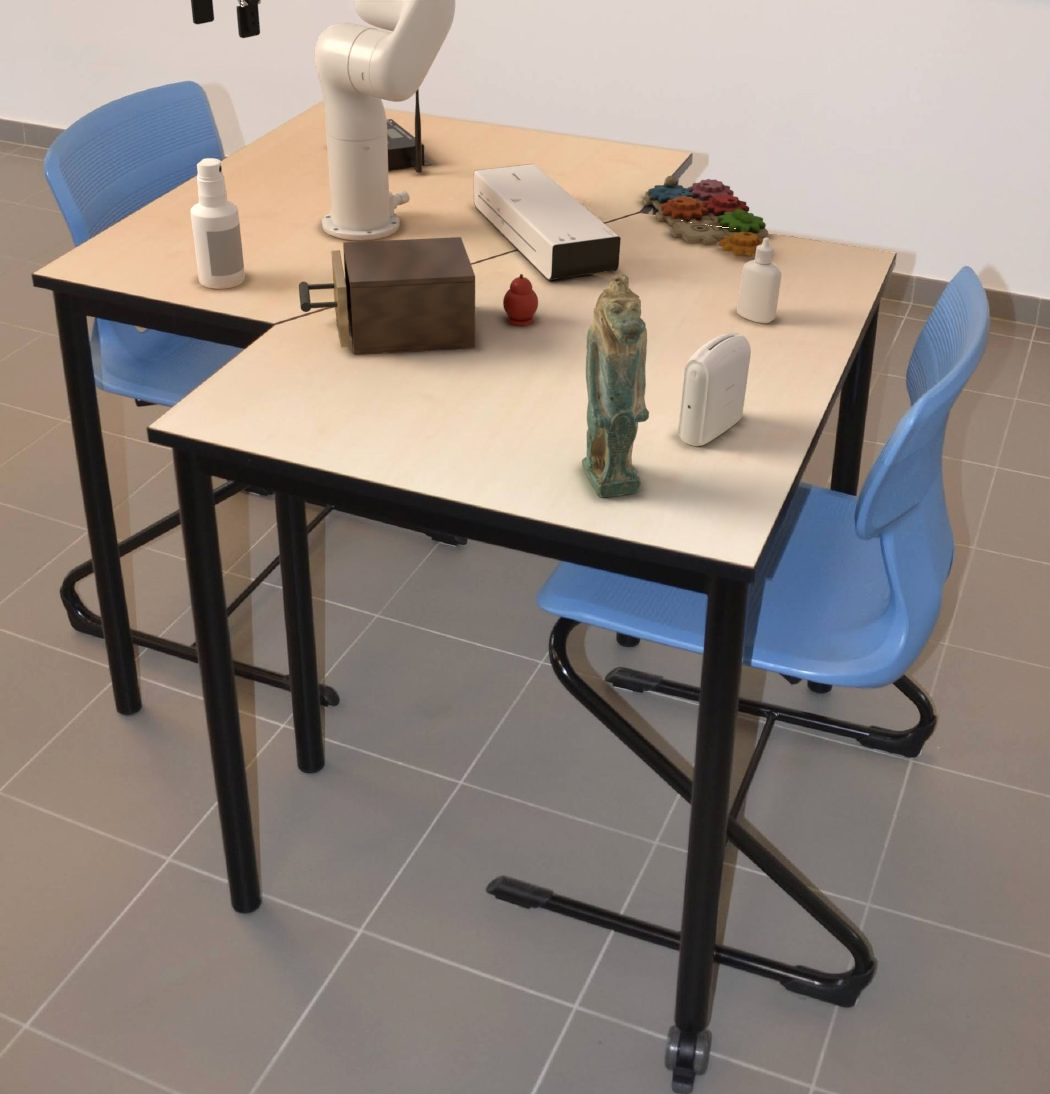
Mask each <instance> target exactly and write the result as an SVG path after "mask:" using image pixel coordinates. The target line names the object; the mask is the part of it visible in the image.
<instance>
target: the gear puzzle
mask: <svg viewBox="0 0 1050 1094" xmlns="http://www.w3.org/2000/svg"><path fill="white" fill-rule="evenodd" d="M642 202H643V204H644V205H645V206H653V207H654V208H655V209H656V210H658V211H657V212H655V218H656V219H657V220H658V221H659V222H663V221H666V222H667V223H668V224H669V225H670V226H672V228H671V229H670V234H671V235H672V236H673V237H674V238H679V237H680V238H682V239H683V241H685V243H703V245H716V244H717V242H718V246H719V247H721V248H722V251H723V252H730V253H731V252H732V254H733V255H734V256H740V255H745V256H748V257H753V256H755V254H756V247H757V246H758V245H761V244H762V242H763V239H764V238H767V237H768V235H769V231H768V230H767V228H766V227H767V223H766V222H765V221H764V217H762V216H759V215H755V214H754V213H752V212H750V206H748V205H747V201H743V200H740V199H739V196H734V190H732V189H731V186H730V185H726V184H724V183H723V181H721V180H717V179H711V178H707V179H701V180H700V181H698V182H693V183H692V185H691V186H689V187H684V186H683V185H682V184H677V179H676V177H675V176H673V175H667V176H666V177H665V179H664V185H663V184H655V185H654V187H652V188H649V189H647V191H646V192H645V193H644V196H643V197H642ZM681 220H683V221H681ZM690 222H692V223H690ZM705 224H707V225H705ZM708 225H709V226H708ZM710 225H712V226H710ZM716 226H722V227H729V228H722V227H716ZM734 228H736V229H734Z"/></svg>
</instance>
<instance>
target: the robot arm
mask: <svg viewBox="0 0 1050 1094" xmlns="http://www.w3.org/2000/svg"><path fill="white" fill-rule="evenodd" d="M237 3H238V4H239V5H237V6H236V16H237V17H236V19H237V20H236V21H237V30H238V36H239V38H241V39H247V38H251V37H257V36H260V34H261V25H260V24H261V23H260V13H259V12H260V11H259V5H260V4H261V3H262V0H237ZM353 4H354V9H355V12H356V14H357V15H358V17H359V18H360V19H361V21H363V22H364V23H366V24H368V25H370V26H372V27H370V26H366V25H362V24H359V23H351V22H338V23H333V24H331V25H329V26H328V27H326V28H325V29H324V30H323V31H322V32H321V33H320V35H319V36H318V38H317V39H316V43H315V48H314V64H315V69H316V73H317V78H318V82H319V85H320V89H321V94H322V100H323V109H324V119H325V120H324V121H325V136H326V138H325V139H326V153H327V168H328V169H327V170H328V186H329V187H328V188H329V199H330V200H329V202H330V203H329V204H330V211H329V212H328V213H326V214H325V215H324V216H323V217H322V219H321V227H322V230H323V231H324V232H325V233H326V234H328V235H329V236H332V237H335V238H337V239H341V240H347V241H374V240H378V239H384V238H387V237H389V236H391V235H393V234H395V233H396V232H398V230H399V228H400V226H401V222H400V216H398V215H397V214H396V213H395V210H396V209H397V208H398V206H402V205H404V204H407V203H409V202H410V194H409V193H408V192H407V191H405V190H403V191H399V192H397V193H395V194H393V193H392V191H391V190H390V182H389V179H390V177H389V171H388V149H387V114H386V109H385V106H384V103H383V100H384V101H387V102H394V103H397V102H398V103H399V102H401V103H402V102H405V101H407V100H409V99H410V98H411V97H413V96H414V95H416V91H417V90H418V88H419V89H420V87H421V86H422V84H423V82H424V80H425V78H426V76H427V75H428V74H429V71H430V69H431V67H432V65H433V64H434V61H435V59H436V58H437V56H438V54H439V52H440V50H441V48H442V46H443V44H444V42H445V40H446V39H447V37H448V34H449V32H450V30H451V28H452V25H453V23H454V20H455V19H454V18H455V13H456V0H354V3H353ZM190 5H191V15H192V22H193V24H194V25H196V26H197V25H202V24H208V23H212V22H214V21H215V11H214V1H213V0H190Z"/></svg>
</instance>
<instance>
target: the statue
mask: <svg viewBox="0 0 1050 1094" xmlns="http://www.w3.org/2000/svg"><path fill="white" fill-rule="evenodd" d="M629 282H630V277H629V276H628V275H626V274H619V275H617V276H614V277H612V278H611V279H610V280H609V284H608V287H606V288H605V289H603V290H602V292H601V293H600V294H599V295H598V298H597V300H596V303H595V307H594V308H593V309H594V310H593V322H592V323H591V324H590V325H589V327H588V330H587V334H586V357H585V382H586V390H587V409H586V425H587V429H586V453H585V454H586V456H585V457H584V458H582V459H581V465H582V469H583V471H584V474H585V475H586V477H587V479H588V480H589V483H590V484H591V487H592V488H593V490H594V491H595V493H596V495H597V496H598V497H599V498H611V497H620V496H625V495H628V494H629V495H630V494H636V493H638V492H639V490H640V487H641V478H640V476H639V473H638V470H637V469H636V468H635V466H634V465H633V458H632V456H633V448H634V442H635V441H636V438H637V434H638V431H639V430H638V429H639V423H645V422H647V420H649V417H650V411H649V410H648V409H647V405H646V399H645V396H646V386H647V380H646V363H647V351H648V349H647V347H648V329H647V324H646V322H645V321H644V320H643V318H641V316H642V300H641V298H640V295H638V294H637V293H635V292H633V291H632V290H631V288H630V287H629V285H630V283H629Z"/></svg>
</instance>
